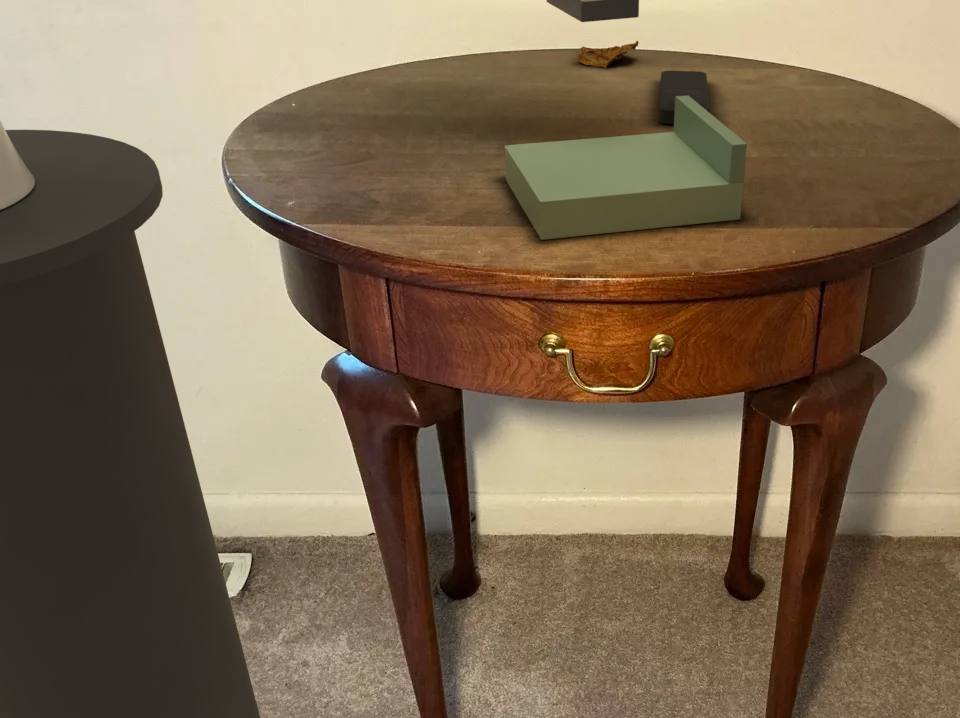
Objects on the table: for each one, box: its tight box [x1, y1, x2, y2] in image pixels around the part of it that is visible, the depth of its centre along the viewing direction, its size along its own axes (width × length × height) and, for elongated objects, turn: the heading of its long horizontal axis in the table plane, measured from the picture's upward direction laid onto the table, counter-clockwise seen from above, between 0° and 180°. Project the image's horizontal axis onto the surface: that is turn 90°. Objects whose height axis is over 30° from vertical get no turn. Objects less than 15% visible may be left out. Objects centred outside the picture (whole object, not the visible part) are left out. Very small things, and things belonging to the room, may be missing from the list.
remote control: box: [658, 70, 711, 125], centre depth 107 cm, size 5×2×15 cm
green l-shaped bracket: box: [504, 96, 748, 241], centre depth 84 cm, size 16×13×6 cm
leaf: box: [576, 40, 639, 69], centre depth 121 cm, size 6×7×2 cm
